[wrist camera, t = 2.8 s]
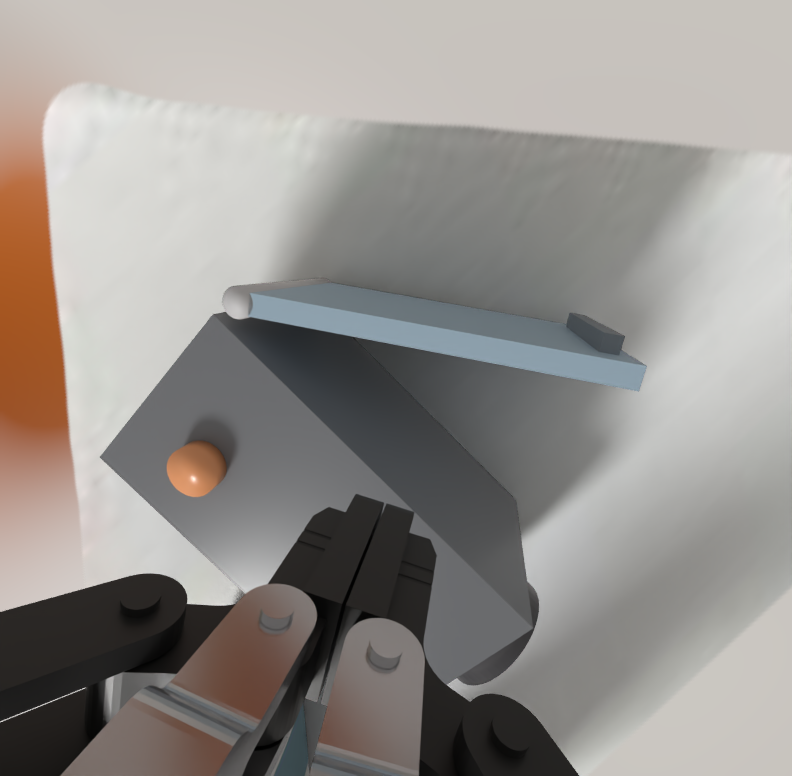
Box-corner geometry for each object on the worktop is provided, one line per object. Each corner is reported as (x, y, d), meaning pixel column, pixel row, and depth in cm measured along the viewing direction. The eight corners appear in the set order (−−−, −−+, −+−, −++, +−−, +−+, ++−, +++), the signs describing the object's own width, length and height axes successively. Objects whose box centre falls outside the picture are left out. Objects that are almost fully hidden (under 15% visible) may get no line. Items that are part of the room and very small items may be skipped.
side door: (589, 314, 28) (653, 345, 17) (580, 347, 28) (636, 396, 18) (314, 266, 30) (223, 268, 19) (311, 298, 30) (221, 316, 20)
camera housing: (545, 530, 33) (582, 691, 20) (443, 603, 36) (422, 783, 23) (311, 296, 31) (199, 316, 19) (226, 393, 35) (83, 465, 22)
